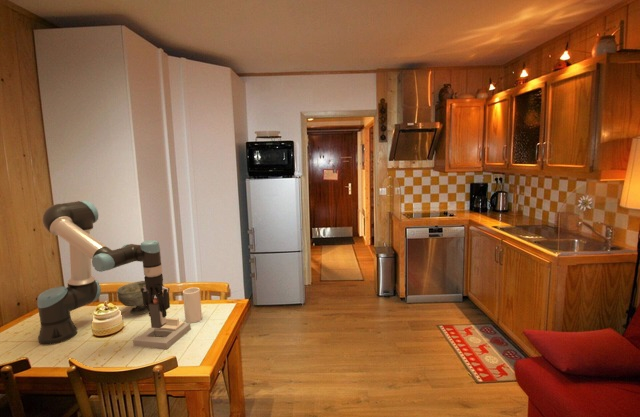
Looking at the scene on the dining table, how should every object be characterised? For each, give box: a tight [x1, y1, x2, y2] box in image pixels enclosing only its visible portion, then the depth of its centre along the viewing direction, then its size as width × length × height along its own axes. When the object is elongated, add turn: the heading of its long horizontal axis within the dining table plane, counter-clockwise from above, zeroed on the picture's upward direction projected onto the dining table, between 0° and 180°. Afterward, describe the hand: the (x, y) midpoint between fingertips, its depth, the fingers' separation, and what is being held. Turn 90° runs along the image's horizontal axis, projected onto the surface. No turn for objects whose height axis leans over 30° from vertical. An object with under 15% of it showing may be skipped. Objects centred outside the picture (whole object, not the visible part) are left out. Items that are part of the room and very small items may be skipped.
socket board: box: [132, 322, 192, 350], centre depth 167 cm, size 17×19×3 cm
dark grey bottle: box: [149, 297, 166, 328], centre depth 163 cm, size 4×4×13 cm
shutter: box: [154, 317, 185, 330], centre depth 172 cm, size 12×7×4 cm, turn 78°
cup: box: [182, 287, 203, 324], centre depth 184 cm, size 8×8×16 cm
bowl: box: [117, 280, 156, 316], centre depth 197 cm, size 20×19×15 cm
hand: (158, 323), depth 164 cm, fingers closed on dark grey bottle, 4 cm apart
